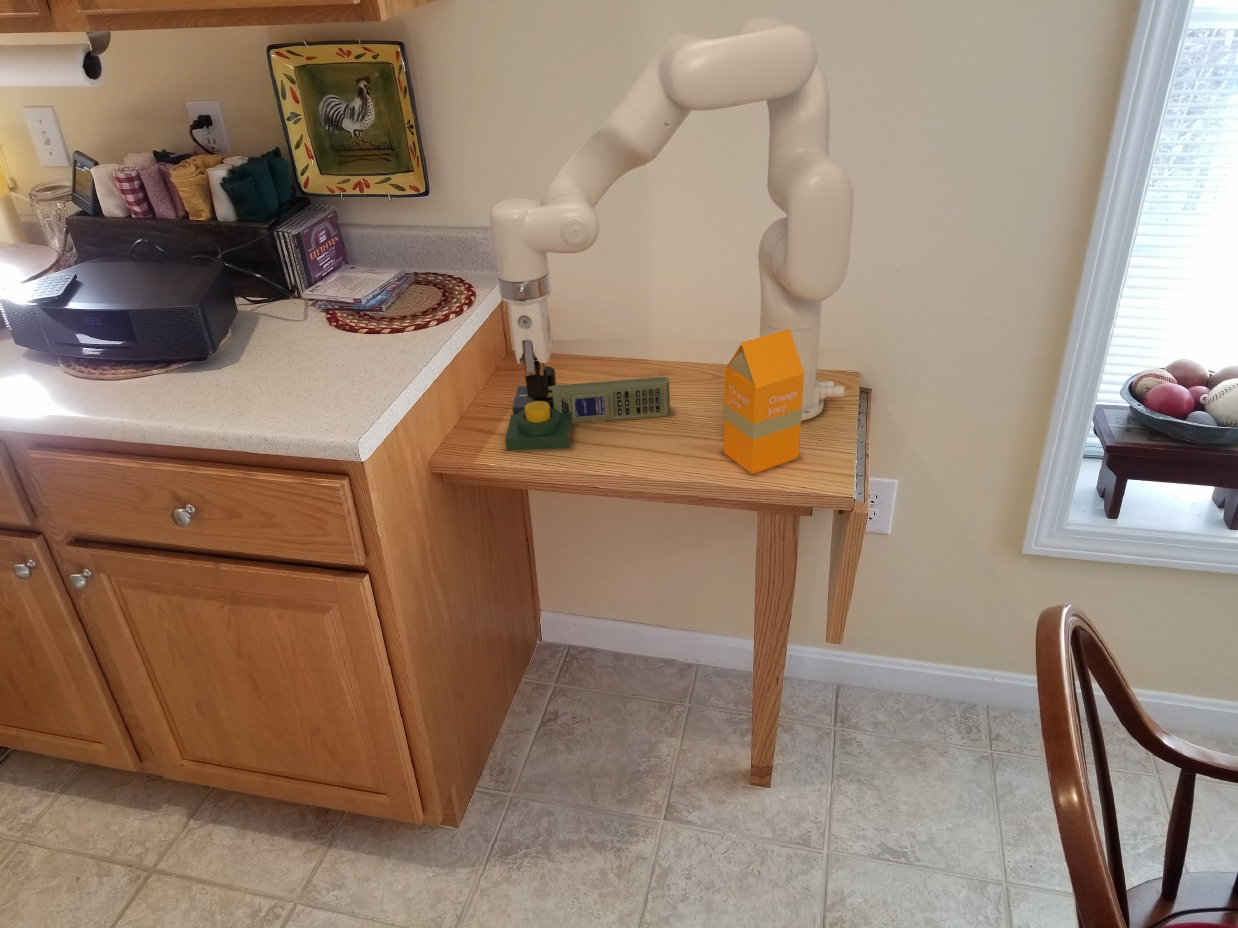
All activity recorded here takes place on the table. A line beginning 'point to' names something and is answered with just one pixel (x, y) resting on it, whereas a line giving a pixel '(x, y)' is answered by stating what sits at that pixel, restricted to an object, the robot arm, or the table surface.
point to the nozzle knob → (551, 381)
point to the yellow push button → (537, 411)
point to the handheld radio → (612, 399)
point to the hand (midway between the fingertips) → (538, 394)
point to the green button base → (539, 432)
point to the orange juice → (763, 402)
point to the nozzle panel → (523, 399)
